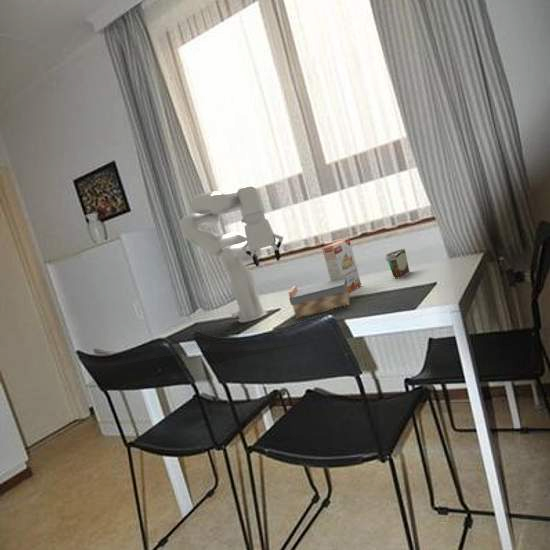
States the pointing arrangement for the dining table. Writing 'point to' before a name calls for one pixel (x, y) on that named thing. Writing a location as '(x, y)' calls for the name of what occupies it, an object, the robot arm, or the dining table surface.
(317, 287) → the lid
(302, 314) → the box
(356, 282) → the cracker box
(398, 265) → the food container
